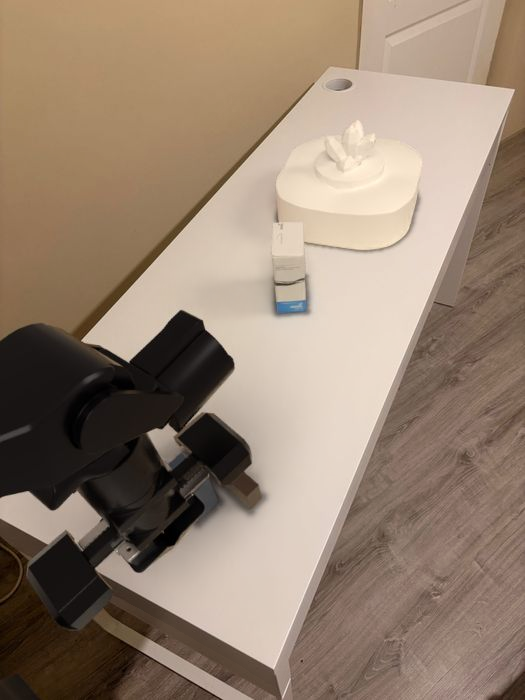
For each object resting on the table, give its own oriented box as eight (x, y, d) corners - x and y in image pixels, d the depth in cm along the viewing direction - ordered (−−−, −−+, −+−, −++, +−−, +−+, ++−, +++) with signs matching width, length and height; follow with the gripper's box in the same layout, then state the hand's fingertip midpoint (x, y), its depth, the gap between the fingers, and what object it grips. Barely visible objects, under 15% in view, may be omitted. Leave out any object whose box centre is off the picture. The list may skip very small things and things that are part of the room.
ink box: (307, 312, 80) (305, 256, 70) (276, 314, 80) (270, 258, 71) (305, 276, 85) (303, 219, 76) (276, 278, 85) (271, 221, 76)
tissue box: (303, 164, 107) (301, 87, 95) (422, 177, 100) (436, 95, 88) (266, 236, 93) (257, 156, 80) (401, 256, 86) (415, 172, 73)
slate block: (209, 520, 61) (168, 533, 55) (183, 494, 64) (141, 503, 57) (235, 473, 60) (196, 481, 54) (208, 448, 63) (168, 453, 56)
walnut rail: (250, 510, 60) (246, 496, 57) (187, 450, 66) (180, 435, 63) (261, 498, 61) (258, 484, 58) (198, 440, 67) (192, 425, 64)
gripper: (154, 334, 42) (191, 427, 54) (-56, 490, 35) (42, 557, 47) (245, 408, 37) (264, 493, 49) (19, 612, 29) (107, 652, 41)
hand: (171, 542), depth 46 cm, fingers closed
